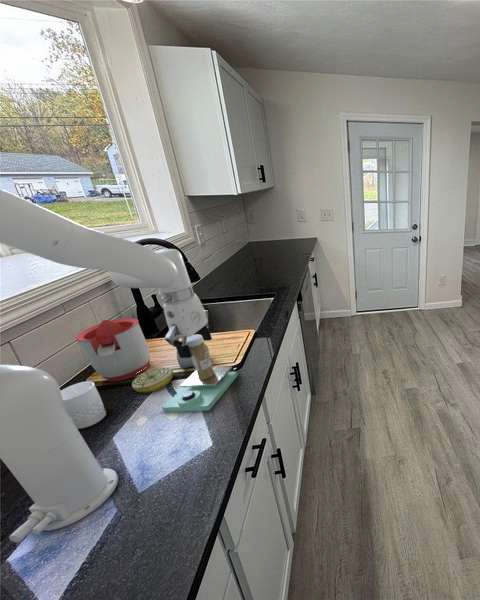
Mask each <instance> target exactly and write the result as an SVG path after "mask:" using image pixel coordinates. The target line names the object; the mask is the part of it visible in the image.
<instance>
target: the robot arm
mask: <svg viewBox="0 0 480 600" xmlns="http://www.w3.org/2000/svg"><path fill="white" fill-rule="evenodd" d="M0 244H1V245H4V246H6V247H9V248H10V247H11V248H14V249H16V250H19V251H22V252H25V253H28V254H30V255H34V256H36V257H39V258H42V259H45V260H48V261H50V262H53V263H56V264H61V265H63V266H68V267H74V268H79V269H80V268H81V269H89V270H99V271H105V272H108V275H109V279H110V280H111V281H112V282H113V283H114V284H115V285H116V286H119V287H123V288H127V289H157V291H158V293H159V295H160V300H161V302H162V307H163V312H164V317H165V322H166V325H167V327H168V331H167V333H166V334H165V337H164V340H165V341H166V342H167V343H168V344H169V345H170V346H171V347H172V346H173V347H174V348H176V352H177V351H178V354H179V356H180V358H191V357H192V354H191V351H190V348H189V346H188V344H187V345H186V340H187V338H188V337H190V336H192V335H196V333H198V335H202V337H203V339H204V342H205V341H211V340H213V338H212V334H211V331H210V329H209V327H210V324H209V320H210V318H209V311H208V310H205V307H204V306H203V304H202V302H201V299H200V298H199V296H198V295H197V293H195V291H194V288H193V285H192V282H191V279H190V276H189V274H188V270H187V267H186V264H185V261H184V258H183V256H182V254H181V252H180V250H178V249H176V248H163V249H158V250H154V249H151V248H150V247H147V246H145V245H142V244H140V243H137V242H134V241H131V240H128V239H125V238H121V237H118V236H115V235H113V234H109V233H106V232H103V231H99V230H96V229H92V228H88V227H86V226H84V225H81V224H79V223H78V222H75V221H72V220H71V219H69V218H66V217H64V216H62V215H60V214H58V213H55V212H53V211H51V210H49V209H47V208H45V207H43V206H41V205H39V204H36V203H34V202H32V201H29V200H28V199H25V198H24V197H22V196H19V195H17V194H15V193H12V192H10V191H7V190H6V189H4V188H0ZM180 339H181V340H180ZM0 459H1V461H2V462H3V463H4V464H5V466H6V467H7V468H8V470H9V472H11V474H12V475H13V476H14V478H15V479H16V480H17V482H18V483H19V484H20V486H21V487H22V488H23V490H24V491H25V492H26V493H27V495H28V496H29V497H30V499H31V500H32V501H33V503H32V505H31V506H29V508H28V510H29V512H30V513H31V514H29V515H28V516H27V520H26V521H25V522H23V524H21V525H20V526H19V527H18V528H16V529H15V530H14V531H13V532H12V533H11V534H10V535H9V536H8V539H9V540H10V541H11V542H13V543H21V542H22V541H23V540H24V538H26V537H27V536H28V535H29V534H30V533H33V534H34V535H39V534H41V533H42V531H54V530H58V529H62V528H65V527H68V526H70V525H72V524H74V523H76V522H78V521H80V520H82V519H83V518H85V517H87V516H88V515H90V514H91V513H92V512H94V511H95V510H96V509H98V508H99V507H100V506H101V505H103V504H104V503H105V502H106V501H107V499H108V498H109V497H111V495H112V494H113V492H114V491H115V489H116V487H118V483H119V476H118V474H117V472H116V471H115V469H111V468H107V467H104V468H102V467H101V466H100V464H99V462H98V461H97V459H96V458H95V456H94V454H93V452H92V451H91V449H90V447H89V445H88V444H87V442H86V441H85V439H84V437H83V435H82V434H81V432H80V430H79V429H77V427H76V426H75V424H74V423H73V421H72V419H71V417H70V416H69V414H68V412H67V410H66V408H65V405H64V403H63V399H62V395H61V388H60V386H59V383H58V381H57V380H56V379H55V378H54V377H53V376H52V375H51V374H49V373H48V372H46V371H45V370H41V369H39V368H36V367H32V366H26V365H14V364H0Z"/></svg>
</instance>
